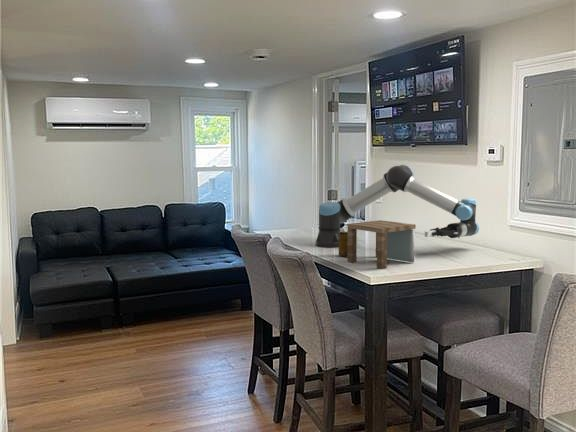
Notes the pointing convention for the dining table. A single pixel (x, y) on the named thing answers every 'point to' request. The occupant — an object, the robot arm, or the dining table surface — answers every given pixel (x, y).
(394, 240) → the pale teal panel
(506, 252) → the dining table surface
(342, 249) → the condiment
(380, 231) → the step stool
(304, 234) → the dining table surface
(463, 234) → the robot arm
